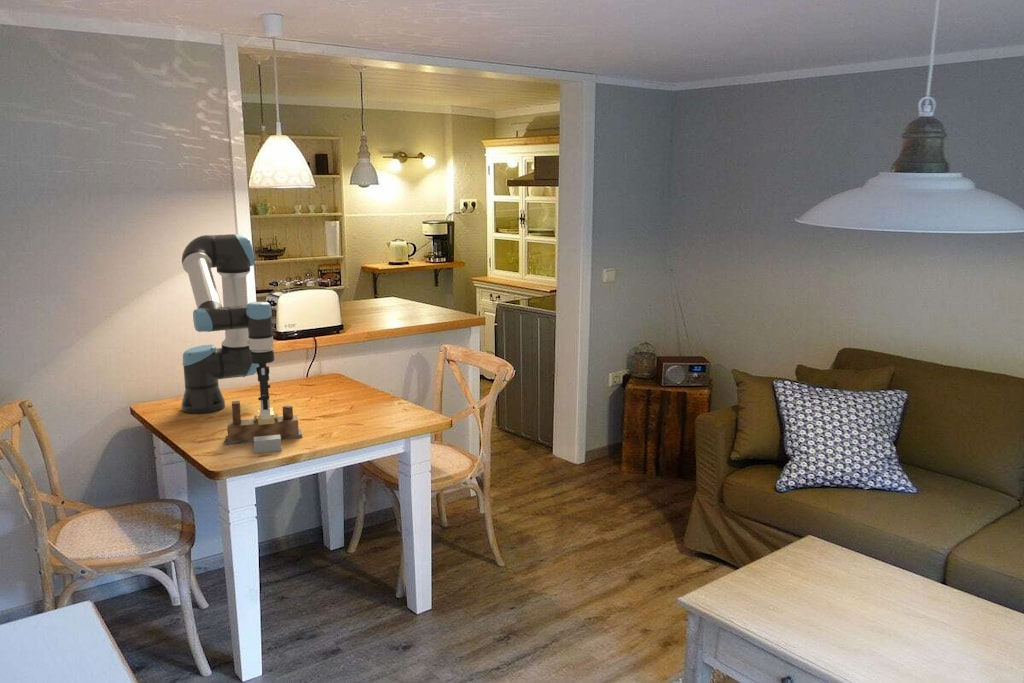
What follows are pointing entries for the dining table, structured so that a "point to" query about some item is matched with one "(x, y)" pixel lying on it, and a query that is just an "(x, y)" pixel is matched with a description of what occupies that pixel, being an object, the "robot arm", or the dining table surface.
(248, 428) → the plane body
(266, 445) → the block
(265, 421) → the lever cap
